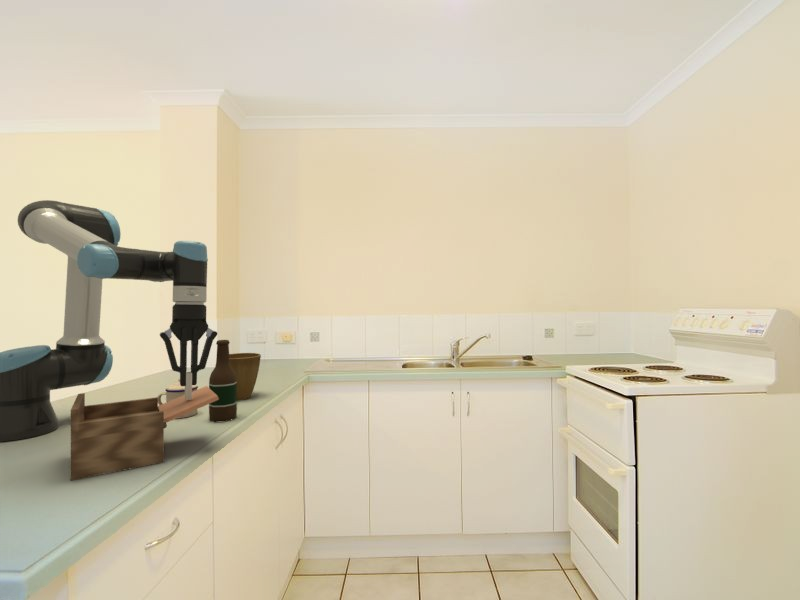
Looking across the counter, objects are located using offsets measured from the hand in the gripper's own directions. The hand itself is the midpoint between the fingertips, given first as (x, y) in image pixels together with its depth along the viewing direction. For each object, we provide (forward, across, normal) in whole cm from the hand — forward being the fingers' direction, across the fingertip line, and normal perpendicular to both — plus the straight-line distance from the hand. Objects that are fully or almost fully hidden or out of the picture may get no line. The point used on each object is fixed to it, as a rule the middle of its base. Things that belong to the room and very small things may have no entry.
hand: (188, 398), depth 100 cm
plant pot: (+11, +23, +46) cm, 53 cm away
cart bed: (+12, -14, 0) cm, 18 cm away
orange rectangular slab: (+4, -6, 0) cm, 7 cm away
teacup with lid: (+12, +1, +33) cm, 35 cm away
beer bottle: (+11, +12, +20) cm, 26 cm away
